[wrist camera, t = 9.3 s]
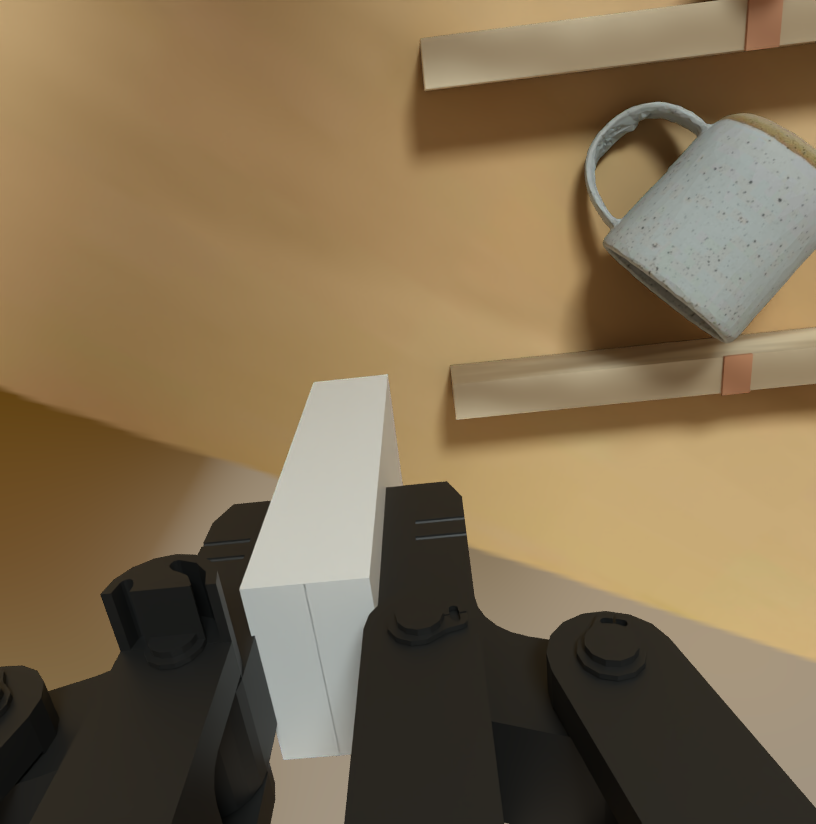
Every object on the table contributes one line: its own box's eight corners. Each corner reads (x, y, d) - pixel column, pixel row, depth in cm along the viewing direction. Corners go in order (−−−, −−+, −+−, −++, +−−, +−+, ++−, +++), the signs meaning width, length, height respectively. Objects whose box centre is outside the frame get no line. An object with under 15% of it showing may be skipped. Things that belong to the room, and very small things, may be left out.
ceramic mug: (805, 195, 35) (901, 213, 28) (689, 322, 38) (750, 367, 31) (651, 57, 33) (714, 39, 26) (539, 201, 36) (568, 221, 29)
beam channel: (410, -56, 31) (410, -86, 26) (942, -128, 30) (1042, -173, 25) (453, 399, 40) (458, 438, 35) (867, 356, 39) (932, 391, 34)
